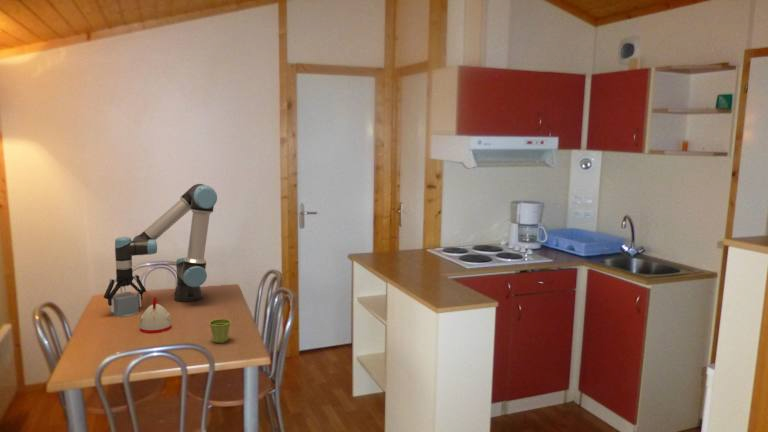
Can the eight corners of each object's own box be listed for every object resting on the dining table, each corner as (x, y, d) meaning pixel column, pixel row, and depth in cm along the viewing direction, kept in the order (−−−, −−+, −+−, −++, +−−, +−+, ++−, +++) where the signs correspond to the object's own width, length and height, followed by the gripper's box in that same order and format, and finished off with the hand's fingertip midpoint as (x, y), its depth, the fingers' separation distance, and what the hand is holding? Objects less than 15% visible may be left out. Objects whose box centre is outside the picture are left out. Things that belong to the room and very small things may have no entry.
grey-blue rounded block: (138, 312, 292) (137, 295, 291) (118, 316, 285) (117, 299, 284) (130, 308, 299) (129, 291, 298) (110, 312, 292) (109, 295, 291)
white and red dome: (137, 334, 260) (136, 302, 258) (142, 325, 274) (140, 294, 272) (170, 332, 264) (169, 301, 262) (172, 323, 277) (171, 293, 275)
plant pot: (205, 340, 255) (205, 321, 253) (224, 335, 261) (224, 317, 260) (215, 346, 248) (215, 326, 247) (235, 341, 254) (234, 322, 253)
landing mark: (144, 310, 295) (144, 310, 295) (128, 317, 284) (128, 317, 284) (123, 308, 298) (123, 308, 298) (107, 315, 287) (107, 315, 287)
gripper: (145, 263, 299) (147, 302, 302) (95, 270, 281) (97, 312, 284) (151, 265, 294) (153, 305, 297) (101, 273, 276) (103, 315, 279)
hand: (126, 308), depth 291 cm, fingers open, 13 cm apart
